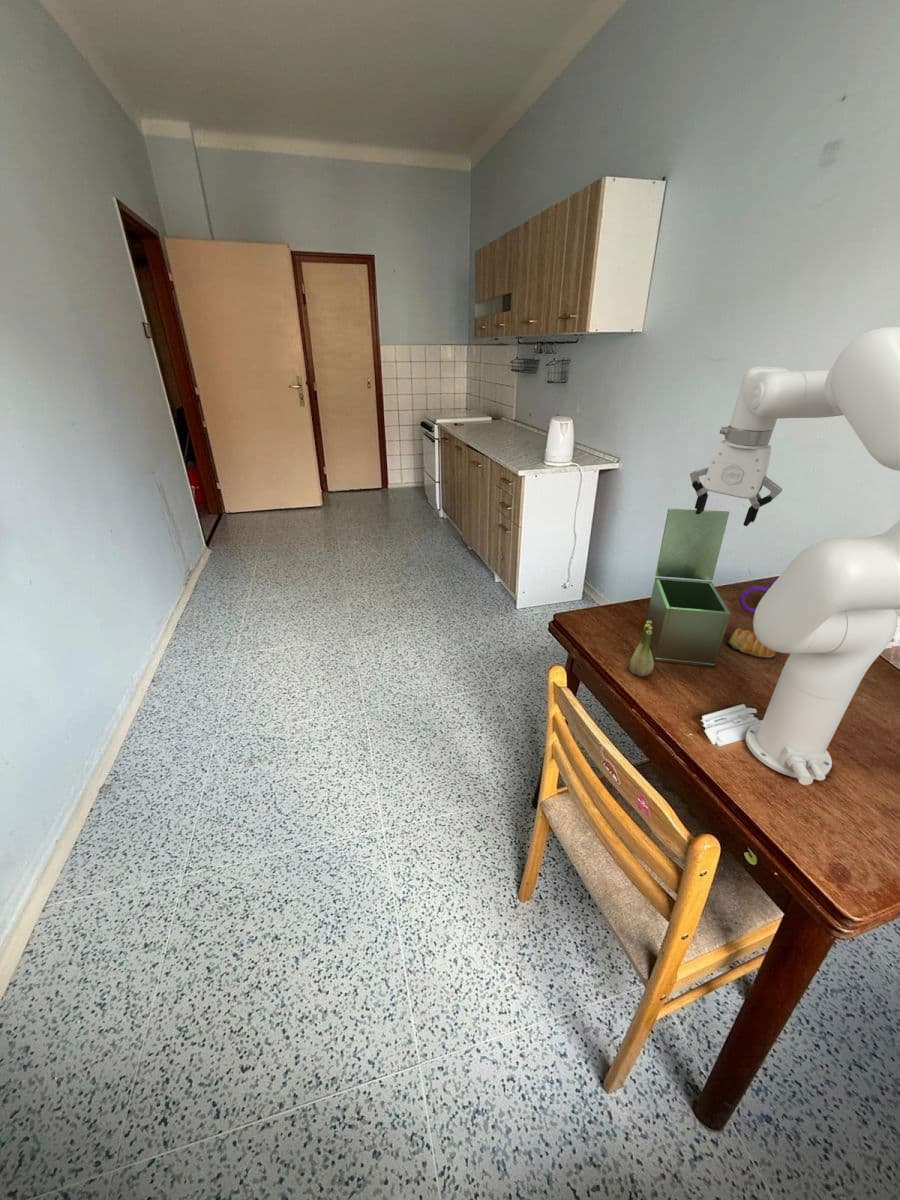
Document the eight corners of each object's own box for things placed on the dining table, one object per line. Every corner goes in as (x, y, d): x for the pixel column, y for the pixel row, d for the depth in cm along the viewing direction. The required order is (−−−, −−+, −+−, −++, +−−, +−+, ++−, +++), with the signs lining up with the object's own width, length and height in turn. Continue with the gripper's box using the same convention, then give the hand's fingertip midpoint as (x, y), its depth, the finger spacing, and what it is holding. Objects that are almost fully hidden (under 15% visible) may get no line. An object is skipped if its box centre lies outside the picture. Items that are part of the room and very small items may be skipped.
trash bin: (714, 667, 105) (730, 613, 98) (654, 660, 107) (666, 608, 101) (698, 630, 118) (711, 581, 112) (645, 625, 121) (655, 577, 114)
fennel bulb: (636, 662, 107) (645, 616, 101) (657, 671, 104) (668, 625, 98) (623, 673, 104) (632, 626, 98) (644, 683, 100) (654, 635, 95)
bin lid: (729, 512, 104) (728, 511, 105) (668, 509, 107) (668, 508, 107) (712, 580, 111) (711, 579, 112) (655, 576, 114) (655, 575, 114)
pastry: (777, 651, 110) (783, 637, 108) (769, 663, 106) (774, 649, 104) (734, 636, 116) (738, 623, 114) (724, 647, 112) (728, 634, 110)
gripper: (695, 433, 95) (675, 513, 104) (794, 448, 85) (762, 534, 94) (708, 427, 100) (688, 503, 109) (803, 440, 90) (772, 523, 99)
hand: (722, 518), depth 102 cm, fingers open, 9 cm apart
